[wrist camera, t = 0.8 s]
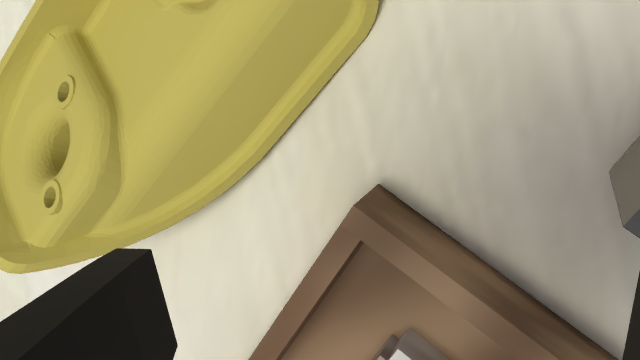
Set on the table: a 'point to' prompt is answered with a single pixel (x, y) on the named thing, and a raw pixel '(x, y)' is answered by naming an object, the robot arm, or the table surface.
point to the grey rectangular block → (628, 187)
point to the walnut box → (412, 300)
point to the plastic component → (149, 111)
